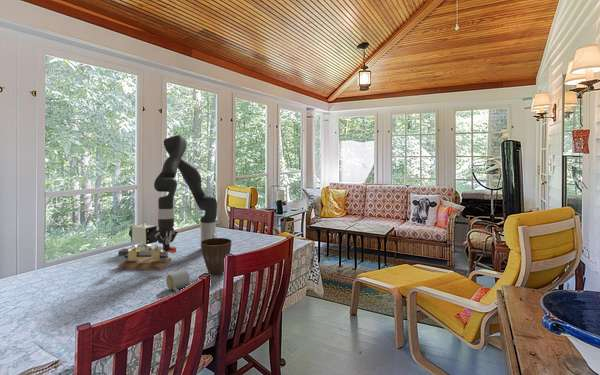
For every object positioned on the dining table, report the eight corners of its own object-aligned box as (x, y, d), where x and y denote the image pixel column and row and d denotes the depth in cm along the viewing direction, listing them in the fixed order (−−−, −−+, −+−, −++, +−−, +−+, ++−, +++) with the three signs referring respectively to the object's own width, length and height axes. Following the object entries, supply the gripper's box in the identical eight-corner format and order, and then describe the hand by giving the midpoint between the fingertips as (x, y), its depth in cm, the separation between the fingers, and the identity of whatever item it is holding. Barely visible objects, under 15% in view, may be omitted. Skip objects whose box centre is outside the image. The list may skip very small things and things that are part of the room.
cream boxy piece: (161, 252, 205) (161, 223, 203) (150, 255, 197) (149, 225, 196) (141, 248, 213) (140, 220, 211) (129, 251, 205) (128, 223, 203)
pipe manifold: (168, 260, 183) (168, 247, 182) (165, 262, 178) (164, 249, 177) (127, 260, 182) (126, 247, 182) (122, 262, 177) (122, 249, 177)
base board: (171, 261, 188) (171, 257, 187) (162, 269, 174) (161, 265, 174) (131, 261, 187) (131, 257, 187) (118, 269, 173) (118, 265, 173)
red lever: (157, 247, 181) (157, 243, 181) (176, 252, 173) (176, 247, 173) (153, 248, 179) (153, 244, 179) (172, 253, 171) (172, 248, 171)
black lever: (137, 247, 181) (137, 243, 180) (123, 256, 166) (123, 251, 165) (133, 247, 181) (132, 243, 180) (118, 256, 165) (118, 251, 165)
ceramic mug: (165, 288, 149) (165, 271, 148) (183, 283, 155) (183, 267, 154) (175, 296, 141) (174, 278, 140) (193, 290, 147) (193, 273, 146)
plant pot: (236, 269, 175) (236, 238, 174) (223, 279, 161) (223, 246, 159) (210, 266, 178) (209, 237, 177) (195, 276, 164) (194, 244, 163)
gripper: (171, 215, 178) (171, 247, 179) (149, 218, 166) (150, 253, 167) (181, 216, 174) (181, 249, 175) (159, 219, 163) (160, 255, 164)
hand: (166, 251), depth 171 cm, fingers closed
